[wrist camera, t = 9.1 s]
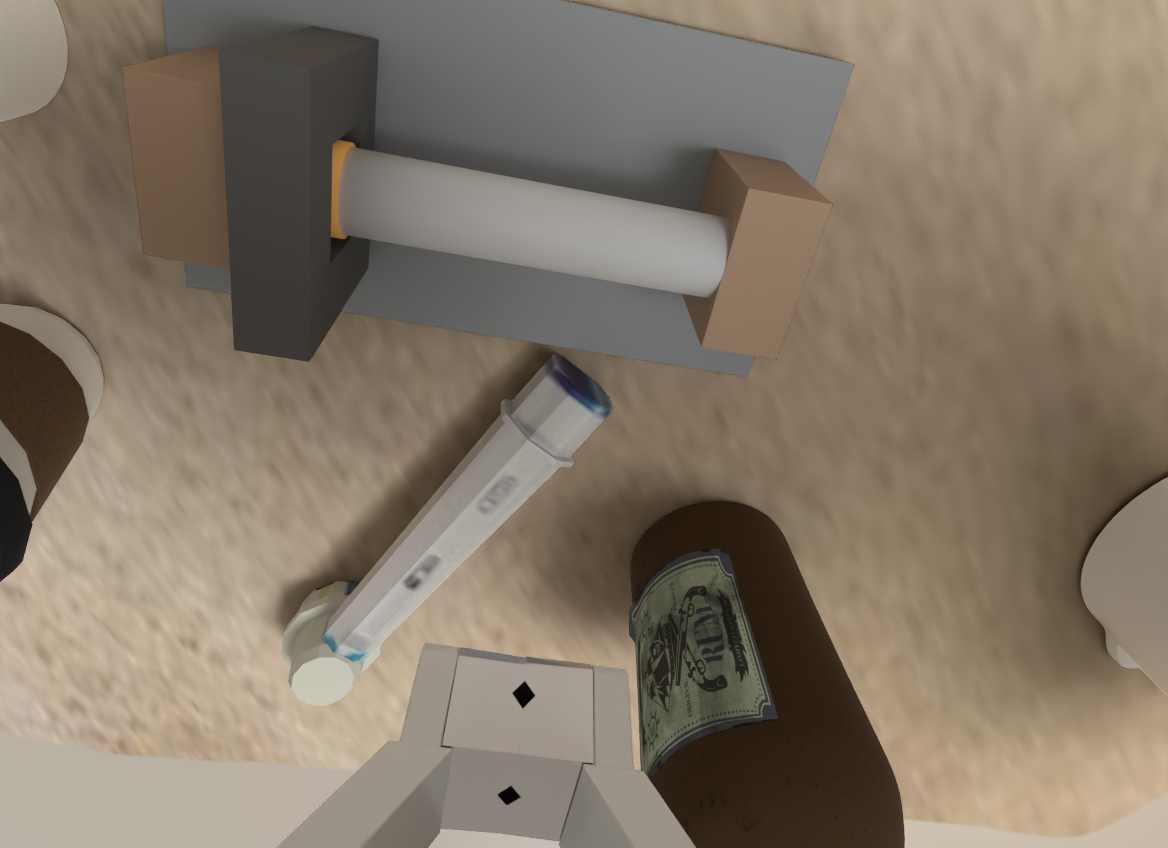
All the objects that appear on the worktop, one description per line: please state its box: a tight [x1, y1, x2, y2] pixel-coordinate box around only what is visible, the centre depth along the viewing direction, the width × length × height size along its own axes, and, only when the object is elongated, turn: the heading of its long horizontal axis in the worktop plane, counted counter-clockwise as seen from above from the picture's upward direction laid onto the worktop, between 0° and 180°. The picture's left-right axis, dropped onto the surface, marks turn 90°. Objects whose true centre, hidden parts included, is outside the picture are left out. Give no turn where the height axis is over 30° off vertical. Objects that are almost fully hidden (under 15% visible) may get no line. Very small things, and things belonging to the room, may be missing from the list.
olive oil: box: [629, 502, 905, 848], centre depth 34 cm, size 11×11×25 cm
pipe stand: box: [122, 0, 854, 377], centre depth 29 cm, size 26×14×8 cm, turn 79°
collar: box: [218, 26, 379, 361], centre depth 26 cm, size 2×9×9 cm, turn 169°
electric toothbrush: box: [281, 354, 614, 706], centre depth 41 cm, size 5×7×25 cm
